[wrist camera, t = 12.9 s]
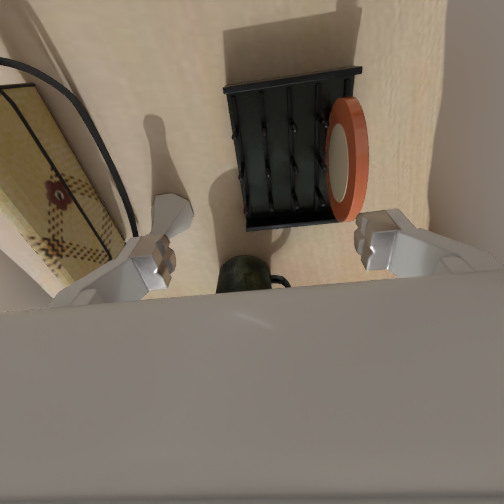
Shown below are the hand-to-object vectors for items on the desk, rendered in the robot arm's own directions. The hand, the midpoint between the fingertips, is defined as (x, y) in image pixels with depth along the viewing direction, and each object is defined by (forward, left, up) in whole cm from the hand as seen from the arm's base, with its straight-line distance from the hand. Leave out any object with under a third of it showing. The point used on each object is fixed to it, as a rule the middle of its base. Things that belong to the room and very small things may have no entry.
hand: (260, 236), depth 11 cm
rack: (+6, +4, -31) cm, 31 cm away
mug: (+28, -4, -31) cm, 42 cm away
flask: (+13, -16, -31) cm, 37 cm away
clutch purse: (+5, -26, -31) cm, 41 cm away
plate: (+5, +10, -22) cm, 25 cm away
